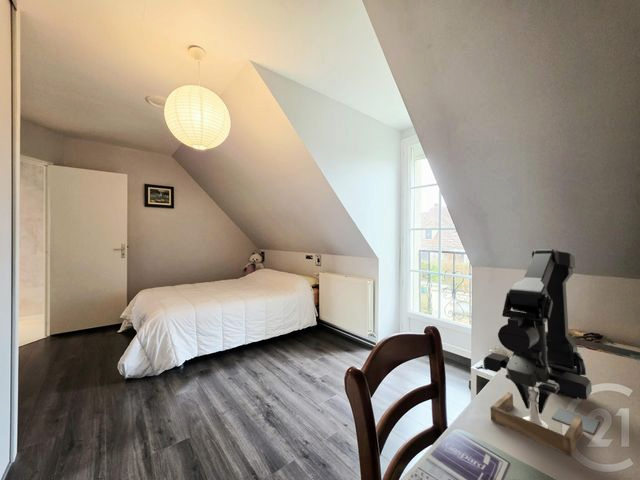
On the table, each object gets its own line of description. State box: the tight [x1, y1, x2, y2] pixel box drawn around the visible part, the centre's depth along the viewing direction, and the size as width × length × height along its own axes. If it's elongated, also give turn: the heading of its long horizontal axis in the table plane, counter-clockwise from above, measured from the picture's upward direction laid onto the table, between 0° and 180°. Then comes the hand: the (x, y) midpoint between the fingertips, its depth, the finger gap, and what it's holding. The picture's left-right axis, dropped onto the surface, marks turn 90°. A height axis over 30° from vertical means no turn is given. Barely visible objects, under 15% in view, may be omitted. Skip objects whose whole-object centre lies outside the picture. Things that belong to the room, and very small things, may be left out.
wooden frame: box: [490, 392, 584, 457], centre depth 60 cm, size 11×14×3 cm
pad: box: [551, 406, 600, 435], centre depth 62 cm, size 7×7×1 cm
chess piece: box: [522, 384, 549, 429], centre depth 60 cm, size 5×5×10 cm
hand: (534, 410), depth 60 cm, fingers closed on chess piece
